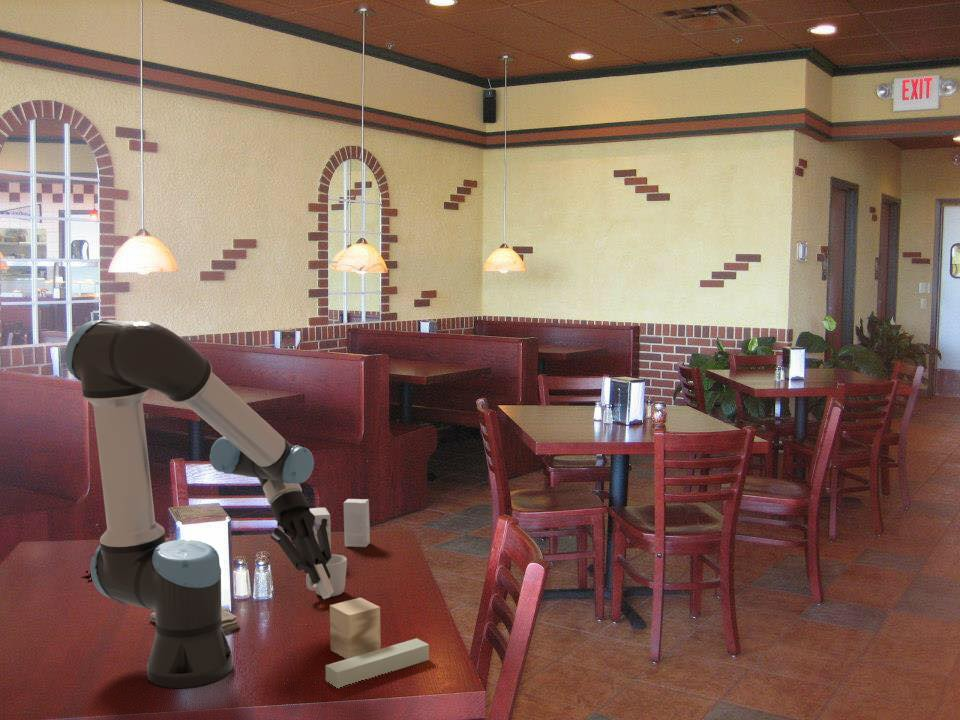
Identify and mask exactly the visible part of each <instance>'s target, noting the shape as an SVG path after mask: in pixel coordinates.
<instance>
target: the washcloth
mask: <svg viewBox="0 0 960 720" xmlns="http://www.w3.org/2000/svg"><path fill="white" fill-rule="evenodd" d="M221 618H222V629H223V631H224V634H225V633H228V632H231V631H233V630H236V629H238V628H239V627H240V626H241V624H239V622H238V621H239V620H237V615H235V614H233V613H231V612H230V611H229V609H228V608H227V607H223V606H221ZM150 620H152V621H154V622H155V623H156V621H155V611H154V612H152V613H150V614H149V618H148V621H150ZM155 623H154V624H155Z"/></svg>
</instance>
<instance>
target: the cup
mask: <svg viewBox="0 0 960 720" xmlns="http://www.w3.org/2000/svg"><path fill="white" fill-rule="evenodd" d="M331 556H332V557H331V559H330V560H329V562H328V563H327V564H326V566H327V569H328V571H329V573H330V579H329V581H330V583H331V585H332V588H333V590H334V592H333V593H332V594H331V596H330V597H329V598H332V597H337V596H339V595H342V593H344V591H345V588H346V577H347V565H348V559H347V557H346V556H345V555H341V554H336V553H335V554H334V553H333V554H332V553H331ZM314 566H315V564H314ZM305 583H306V584H305V585H306V587H307V589H308V590H310V591H315V593H316V594H317V595H318V596H321V594H320V591H319V589H318V587H317V584H313V583H312V581H311V579H310V576H309V574H308V573H306V576H305ZM312 584H313V585H312ZM321 597H322V596H321Z"/></svg>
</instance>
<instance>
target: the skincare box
mask: <svg viewBox="0 0 960 720" xmlns="http://www.w3.org/2000/svg"><path fill="white" fill-rule="evenodd" d="M342 504H343V529H344V531H343V532H344V533H343V534H344V547H345V548H346V547H347V548H348V547H349V548H350V547H353V548H366V547H367V546H368V545H370V543H371V538H370V537H371V535H370V533H371V532H370V531H371V530H370V500H369V498H368V499H367V498H366V499H365V498H363V499H360V498H347V499H346V500H345V501H344V502H343V503H342Z"/></svg>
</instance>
